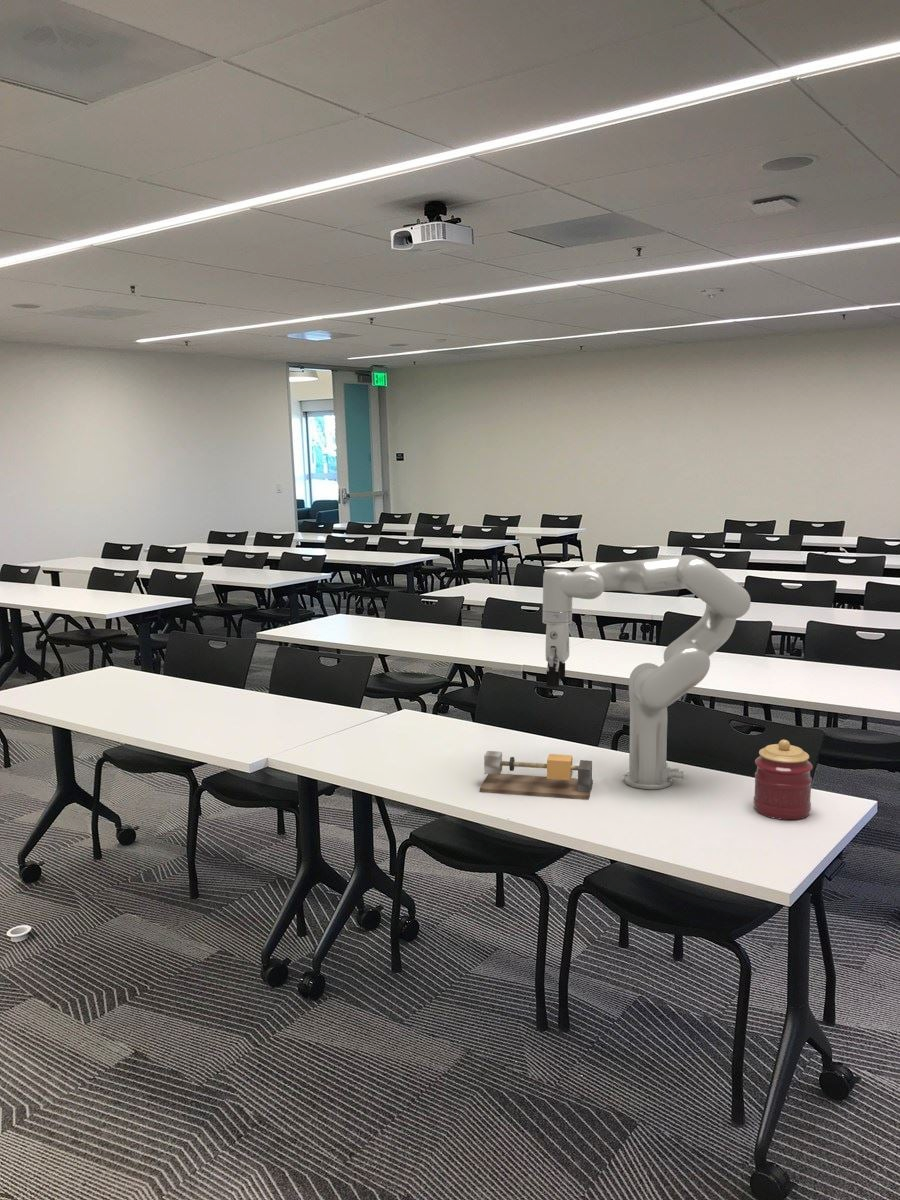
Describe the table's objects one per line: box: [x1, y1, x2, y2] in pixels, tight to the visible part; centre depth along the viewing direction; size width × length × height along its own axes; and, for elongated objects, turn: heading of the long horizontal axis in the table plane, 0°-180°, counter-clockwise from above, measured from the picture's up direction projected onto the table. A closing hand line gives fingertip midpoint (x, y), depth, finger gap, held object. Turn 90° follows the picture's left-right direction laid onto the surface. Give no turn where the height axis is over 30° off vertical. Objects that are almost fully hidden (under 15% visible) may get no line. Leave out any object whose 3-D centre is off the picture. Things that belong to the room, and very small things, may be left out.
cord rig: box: [479, 750, 594, 801], centre depth 235 cm, size 28×12×8 cm, turn 76°
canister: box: [753, 739, 813, 820], centre depth 216 cm, size 13×13×18 cm
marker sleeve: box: [546, 753, 573, 780], centre depth 233 cm, size 6×5×5 cm
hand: (555, 681), depth 234 cm, fingers open, 9 cm apart
